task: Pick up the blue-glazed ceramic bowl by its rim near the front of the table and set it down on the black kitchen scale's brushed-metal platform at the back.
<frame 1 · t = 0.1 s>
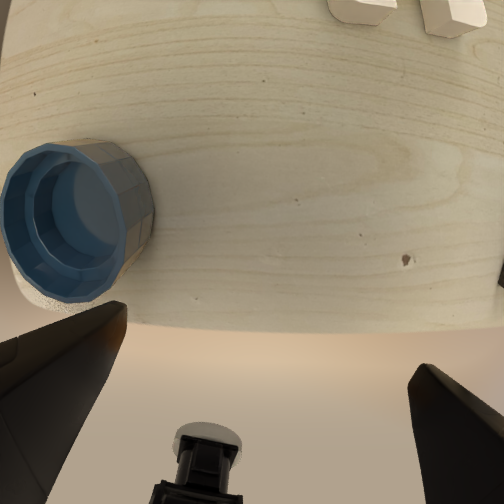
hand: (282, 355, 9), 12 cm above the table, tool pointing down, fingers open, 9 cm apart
bowl: (93, 206, 20), on the table
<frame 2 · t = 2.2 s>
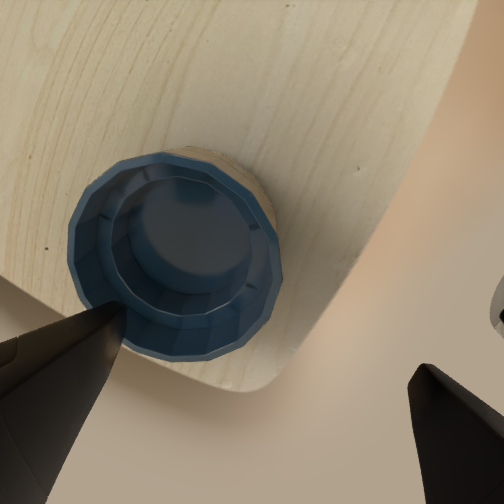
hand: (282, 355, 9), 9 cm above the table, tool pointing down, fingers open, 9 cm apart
bowl: (189, 233, 17), on the table
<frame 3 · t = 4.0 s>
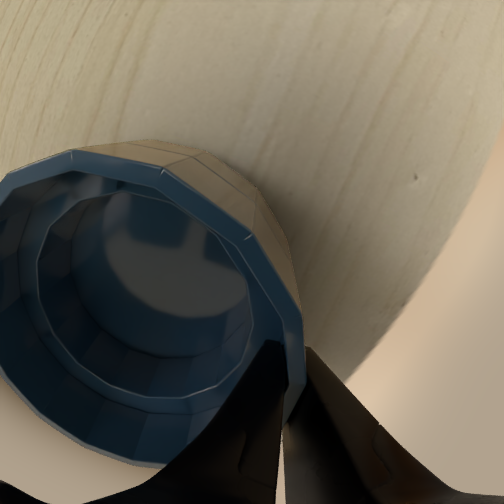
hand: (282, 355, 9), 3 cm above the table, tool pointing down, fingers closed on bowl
bowl: (158, 273, 11), on the table, touching gripper
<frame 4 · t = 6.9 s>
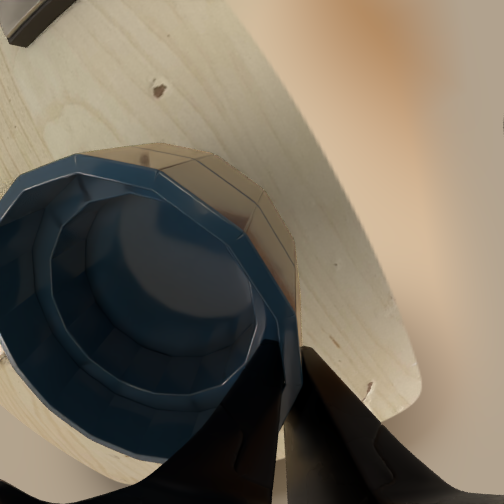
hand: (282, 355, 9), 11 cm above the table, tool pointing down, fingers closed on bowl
bowl: (169, 273, 12), point 8 cm above the table, touching gripper
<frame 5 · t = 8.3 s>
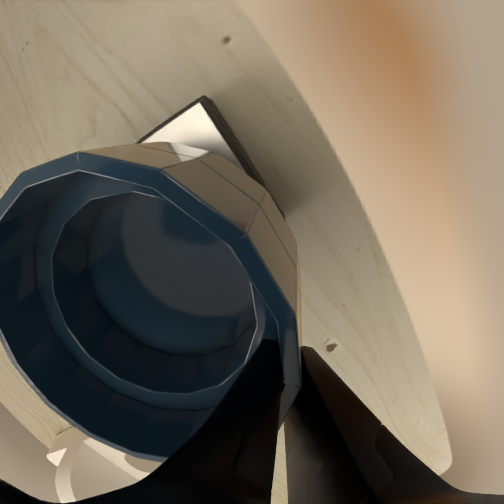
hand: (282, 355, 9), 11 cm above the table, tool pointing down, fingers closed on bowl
scale: (189, 194, 18), on the table
slotted base with upright: (122, 445, 28), on the table
bowl: (170, 272, 12), point 8 cm above the table, touching gripper
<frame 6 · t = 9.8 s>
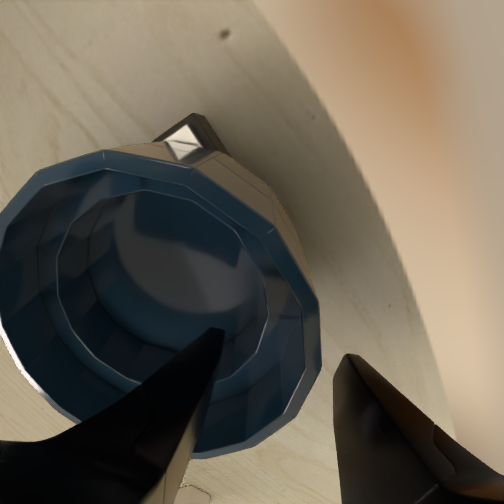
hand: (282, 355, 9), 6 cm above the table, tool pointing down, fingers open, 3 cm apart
scale: (178, 243, 14), on the table
slotted base with upright: (119, 487, 24), on the table
bowl: (173, 269, 12), point 3 cm above the table, touching scale
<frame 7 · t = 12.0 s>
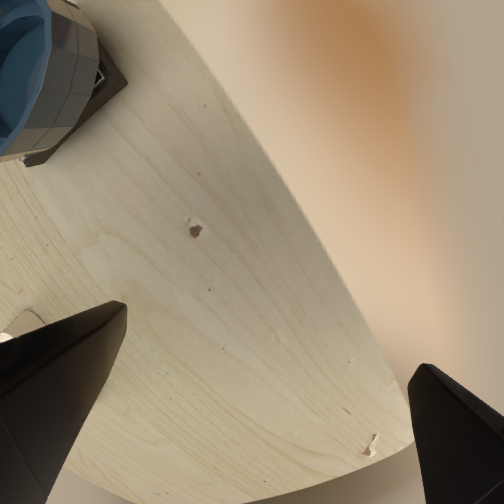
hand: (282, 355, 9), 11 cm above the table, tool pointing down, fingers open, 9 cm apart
scale: (55, 81, 16), on the table
slotted base with upright: (32, 380, 25), on the table
bowl: (37, 78, 14), point 3 cm above the table, touching scale
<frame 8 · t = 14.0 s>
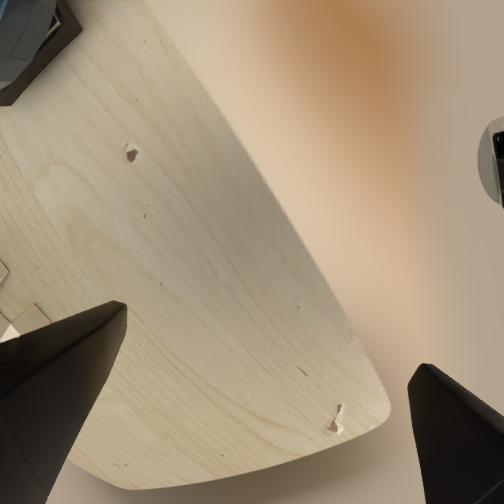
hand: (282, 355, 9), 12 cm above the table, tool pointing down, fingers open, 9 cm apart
scale: (26, 35, 15), on the table
bowl: (9, 30, 13), point 3 cm above the table, touching scale
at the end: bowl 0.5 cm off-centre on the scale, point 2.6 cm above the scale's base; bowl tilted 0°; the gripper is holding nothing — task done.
